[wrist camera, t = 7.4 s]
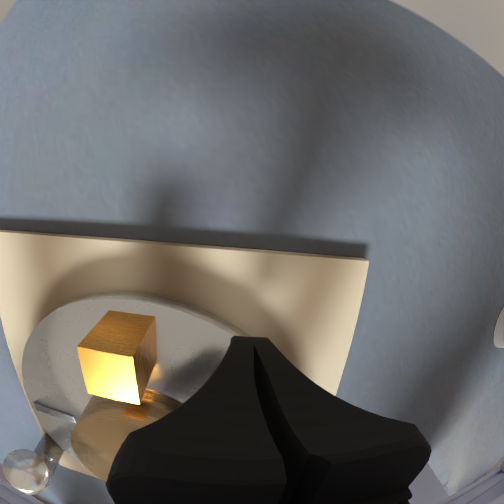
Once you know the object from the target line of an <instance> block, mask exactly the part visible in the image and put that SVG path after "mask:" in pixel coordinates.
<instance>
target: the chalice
mask: <svg viewBox="0 0 504 504" xmlns="http://www.w3.org/2000/svg"><path fill="white" fill-rule="evenodd" d="M493 340H494V345H495V346H496V347H497V348H504V307H503V309H502V310H501V313H500V315H499V317H498V320H497V323H496V326H495V330H494V337H493Z"/></svg>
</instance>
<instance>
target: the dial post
mask: <svg viewBox="0 0 504 504" xmlns="http://www.w3.org/2000/svg"><path fill="white" fill-rule="evenodd" d="M63 453H64V450H63V449H62V448H61V447H60V446H59V445H58V444H57V443H56V442H55V441H54V440H53V439H52V438H51V436H50V435H49V434H48V433H45V434H44V435H43V437H42V438H41V440H40V442H39V443H38V445H37V447H36V448H35V450H34V452H33V451H30V450H26V449H19V450H15V451H13V452H11V453H10V454H8V455H7V456H6V458H5V460H4V462H3V471H4V475H5V477H6V478H7V479H8V481H9V482H10V483H11V484H12V485H13V487H14V488H16V489H18V490H20V491H21V492H23V493H25V494H30V495H34V494H38V493H41V492H43V491H44V490H45V489H46V488H47V487H48V485H49V483H50V479H51V477H52V475H53V473H54V471H55V469H56V467H57V465H58V463H59V461H60V459H61V457H62V455H63Z"/></svg>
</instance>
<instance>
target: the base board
mask: <svg viewBox="0 0 504 504" xmlns="http://www.w3.org/2000/svg"><path fill="white" fill-rule="evenodd" d="M368 266H369V261H368V260H366V259H365V258H357V257H345V256H333V255H321V254H309V253H296V252H284V251H272V250H259V249H247V248H234V247H222V246H209V245H197V244H184V243H171V242H158V241H145V240H132V239H119V238H106V237H93V236H80V235H67V234H53V233H40V232H26V231H12V230H0V316H1V320H2V325H3V329H4V333H5V336H6V340H7V344H8V347H9V350H10V354H11V357H12V360H13V363H14V366H15V369H16V372H17V375H18V378H19V380H20V383H21V386H22V388H23V391H24V393H25V396H26V398H27V401H28V403H29V400H28V397H27V394H26V391H25V387H24V383H23V378H22V357H23V351H24V348H25V345H26V341H27V340H28V338H29V336H30V334H31V332H32V331H33V329H34V328H35V327H36V326H37V325H38V324H39V323H40V322H41V320H43V319H44V318H45V317H46V316H48V315H49V314H50V313H51V312H53V311H54V310H55V309H57V308H58V307H60V306H61V305H62V304H64V303H65V302H67V301H70V300H72V299H74V298H77V297H79V296H82V295H86V294H90V293H94V292H100V291H112V290H126V291H141V292H147V293H153V294H159V295H164V296H167V297H171V298H174V299H178V300H181V301H185V302H188V303H190V304H192V305H195V306H197V307H200V308H202V309H205V310H207V311H210V312H212V313H213V314H215V315H217V316H219V317H221V318H223V319H225V320H227V321H229V322H230V323H232V324H233V325H235V326H236V327H238V328H239V329H241V330H242V331H244V332H245V333H247V334H248V335H250V336H251V337H268V338H269V340H270V341H271V342H272V343H273V344H274V345H275V346H276V347H277V348H278V350H279V351H280V352H281V353H282V354H283V355H284V356H285V357H286V358H287V359H288V360H289V361H290V362H291V363H292V364H293V365H294V366H295V367H296V368H297V369H298V370H300V371H301V372H302V373H303V374H304V375H305V376H307V377H308V378H309V379H310V380H312V381H313V382H314V383H316V384H317V385H319V386H320V387H322V388H323V389H325V390H326V391H328V392H329V393H331V394H333V395H334V396H335V395H336V392H337V389H338V386H339V383H340V380H341V377H342V373H343V370H344V367H345V363H346V360H347V356H348V353H349V349H350V345H351V342H352V338H353V334H354V330H355V326H356V322H357V318H358V314H359V309H360V305H361V300H362V296H363V291H364V286H365V281H366V276H367V271H368ZM29 405H30V403H29ZM30 408H31V410H32V412H33V414H34V417H35V419H36V421H37V423H38V425H39V427H40V429H41V431H42V433H43V435H44V434H45V433H47V431H46V430H45V429H44V427H43V426H42V424H41V423H40V421H39V420H38V418H37V416H36V415H35V413H34V411H33V409H32V407H31V405H30ZM59 464H60V465H61V466H64V467H66V468H69V469H72V470H75V471H77V472H80V473H83V474H86V475H89V476H92V477H96V478H98V477H97V476H95V475H94V474H93V473H92V472H90V471H89V470H88V469H86V468H85V467H83V466H82V465H81V464H79V463H78V462H77V461H76V460H74V459H73V458H72V457H71V456H69V455H68V454H67V453H66V452H65V451H64V453H63V455H62V457H61V459H60V461H59ZM99 479H100V478H99Z"/></svg>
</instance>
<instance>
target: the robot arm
mask: <svg viewBox="0 0 504 504" xmlns="http://www.w3.org/2000/svg"><path fill="white" fill-rule="evenodd" d="M430 454H431V447H430V445H429V444H428V442H427V441H426V439H425V438H424V436H423V435H422V434H421V432H420V431H419V429H418V428H417V427H416V425H415V424H411V423H406V422H402V421H398V420H394V419H390V418H386V417H382V416H379V415H377V414H374V413H371V412H368V411H365V410H363V409H361V408H358V407H356V406H354V405H352V404H350V403H348V402H346V401H344V400H342V399H340V398H338V397H336V396H334V395H333V394H331V393H329V392H328V391H326V390H325V389H323V388H322V387H320V386H319V385H317V384H316V383H314V382H313V381H312V380H310V379H309V378H308V377H307V376H305V375H304V374H303V373H302V372H301V371H300V370H298V369H297V368H296V367H295V366H294V365H293V364H292V363H291V362H290V361H289V360H288V359H287V358H286V357H285V356H284V355H283V354H282V353H281V352H280V351H279V350H278V348H277V347H276V346H275V345H274V344H273V343H272V342H271V341H270V340H269V338H268V337H247V336H233V337H232V338H231V341H230V345H229V347H228V350H227V352H226V354H225V355H224V357H223V359H222V361H221V362H220V364H219V365H218V367H217V368H216V369H215V371H214V372H213V374H212V375H211V376H210V378H209V379H208V380H207V381H206V382H205V383H204V384H203V385H202V387H201V388H200V389H199V390H198V391H197V392H196V393H194V394H193V395H192V396H191V397H190V398H189V399H188V400H186V401H185V402H184V403H183V404H181V405H180V406H179V407H177V408H176V409H174V410H173V411H171V412H170V413H168V414H167V415H165V416H163V417H162V418H160V419H159V420H157V421H155V422H153V423H151V424H149V425H146V426H144V427H142V428H140V429H137V430H135V431H132V432H130V433H129V434H128V436H127V437H126V439H125V440H124V442H123V443H122V445H121V447H120V449H119V450H118V452H117V454H116V456H115V458H114V460H113V463H112V466H111V469H110V472H109V475H108V478H107V481H106V487H107V490H108V492H109V494H110V496H111V498H112V499H113V501H114V503H115V504H504V460H503V461H502V463H501V464H500V466H499V467H498V468H496V469H495V470H493V471H492V472H490V473H489V474H487V475H486V476H484V477H483V478H481V479H479V480H478V481H476V482H475V483H473V484H471V485H469V486H468V487H466V488H464V489H462V490H461V491H459V492H457V493H455V494H453V495H451V496H448V494H447V492H446V491H445V489H444V488H443V486H442V484H441V483H440V481H439V480H438V478H437V476H436V475H435V473H434V472H433V470H432V469H431V467H430V466H429V464H428V463H427V462H428V460H429V458H430ZM0 504H45V503H43V502H41V501H39V500H37V499H35V498H33V497H31V496H29V495H27V494H25V493H23V492H21V491H20V490H18V489H16V488H14V487H13V486H11V485H9V484H7V483H6V482H4V481H3V480H1V479H0Z"/></svg>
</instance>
